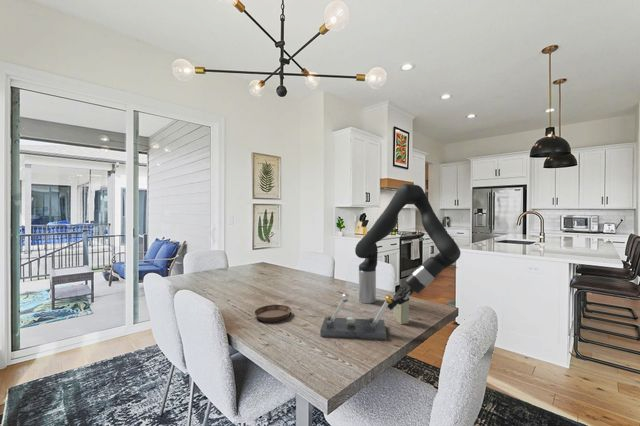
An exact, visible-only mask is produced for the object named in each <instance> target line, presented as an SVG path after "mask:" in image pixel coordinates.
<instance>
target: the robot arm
mask: <svg viewBox="0 0 640 426" xmlns="http://www.w3.org/2000/svg"><path fill="white" fill-rule="evenodd" d="M407 205H414V206H415V207H416V209H417V210H418V211H419V213H420V215H421V216H420V217H421V224H422V226H423V229H424V230H425V232H426V234H427V235H428V237H429V238H430V239H431V240H432V242H433V243H434V245H435V247H436V248H437V250H438V253H437V254H436V255H434V256H430V257H429V258H427V259H426V260H425V261H424V262H423V263H422V264H421V265H418V267H416V269H414V270H413V271H412V272H411V273H410V274H409V275H408V276H407V277H406V278H405V279H404V282H405V283H406V284H405V285H402V286H400V287H399V288H398V289H397V291H396V292H395V293H396V294H395V293H394V294H395V295H394V294H393V297H392V300H393V301H392V303H391V304H388V306H387V308H388V309H389V310H390V311H392V310H394V307H395V306H396V305H397V304H399V305H401V304H403V303H405V302H406V301H408V300H409V301H410V298H411V297H412V295H413V293H414V292H415V293H416V294H420V293H421V292H422V291H423V290H425V288H426V287H427V286H429V285H430V284H432V282H433V280H434V279H435V278H437V277H438V276H439V275H440V273H442V272H443V271H444V270H445V269H447V268H449V267H450V266H452V265H453V264H454V263H456V262H457V261H458V260H459V259H460V257H461V249H460V247H459V245H458V244H457V242H455V240H454V239H453V238H452V236H451V235H450V234H449V233H448V231H447V228H445V226H444V225H443V223H442V222H441V221H440V219H439V218H438V216H437V215H436V213H435V211H434V209H433V207H432V205H431V203H430V201H429V199H428V197H427V195H426V192H425V191H424V189H423V188H422V186H420V185H418V184H412V183H411V184H410V183H404V184H402V185H400V186H399V187H398V188H397V190H396V191H395V193H394V195H393V196H392V199H391V200H390V202H388V205H387V206H386V208H385V209H384V210H383V212H381V214H380V216H378V218H377V219H376V221H375V222H374V224H373V225H372V227H371V228H370V229H369V230H368V231H367V233H366V234H365V235H364V236H363V237H362V238H361V239H360V240H359V241H358V242H357V244H356V246H355V249H354V250H355V251H354V252H355V255H356V256H357V257H358V258H360V259H364V260H363V261H362V262H361V263H359V265H358V301H359V302H360V303H362V304H375V303H376V302H377V270H376V269H377V266H378V256H379V255H378V254H379V253H378V249H379V248H378V245H377V244H378V242H380V241H382V240H383V239H385V238H387V237H388V236H389V235H390V234H392V232H393V230H394V229H395V228H396V226H397V225H398V221H399V214H400V212H401V211H402V210H403V208H404V207H405V206H407Z"/></svg>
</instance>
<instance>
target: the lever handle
mask: <svg viewBox="0 0 640 426" xmlns="http://www.w3.org/2000/svg"><path fill="white" fill-rule="evenodd" d="M393 300H394V299H393V297H392V294H386V295H385V300H384V303H383V304H382V305H381V307H380V309H379V310H378V312H377V313H376V315H375V319H374V320H373V322H372V323H375V326H376V324H377V323H378V321H379V320H381V318H382V315H383V314H384V313H385V311H386V310H387V308H388V307H387V306H388V304H391V303H392V301H393Z"/></svg>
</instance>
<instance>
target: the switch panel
mask: <svg viewBox="0 0 640 426" xmlns="http://www.w3.org/2000/svg"><path fill="white" fill-rule="evenodd" d="M332 316H333V315H332ZM332 316H331V315H328V317H327V316H326V317H324V318H323V319H324V320H323V322H322V325H321V328H320V330H319V331H320V332H319V333H320V334H319V335H320V337H327V338H343V339H344V338H345V339H362V340H363V339H364V340H377V341H378V340H379V341H386V340H387V332H386V331H387V330H386V325H385V323H386V322H385V320H384V319H379V321H378V323H377V324H376V326H375V323H372V322H373V320H374V319H375V318H374V317H373V318H372V317H370V318H369V319H368V318H367V319H366V318H355V324H353V325H350V324H347V318H348V317H336V318H335V319H334V321H333V323H332V321H330V319H331V317H332Z"/></svg>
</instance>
